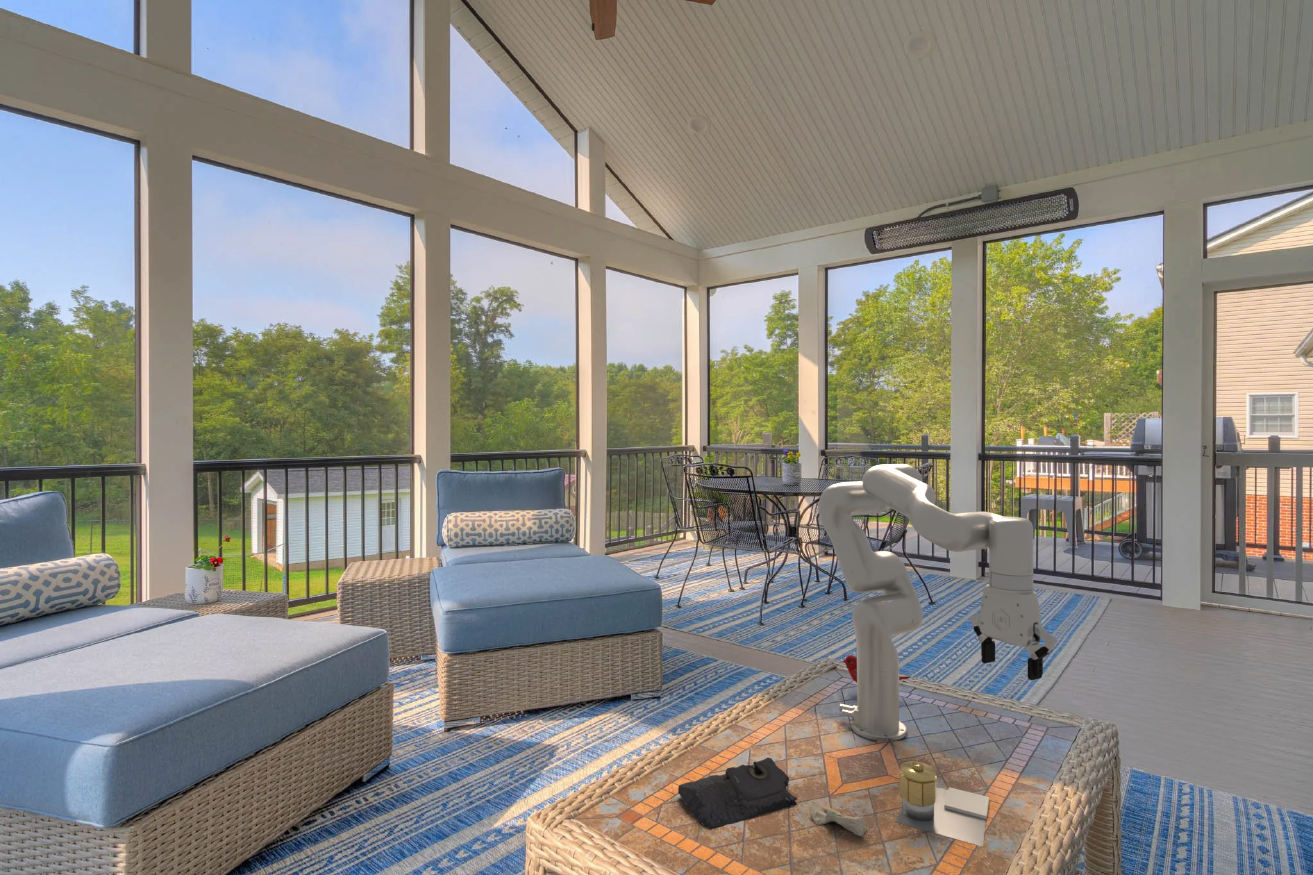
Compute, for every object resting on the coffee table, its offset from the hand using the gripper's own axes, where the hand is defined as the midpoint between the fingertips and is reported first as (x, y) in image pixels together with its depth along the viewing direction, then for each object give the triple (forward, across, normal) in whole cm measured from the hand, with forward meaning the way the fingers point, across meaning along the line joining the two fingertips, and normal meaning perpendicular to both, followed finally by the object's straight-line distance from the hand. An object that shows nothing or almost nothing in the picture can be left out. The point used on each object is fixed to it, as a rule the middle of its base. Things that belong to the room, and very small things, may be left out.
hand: (1010, 670), depth 125 cm
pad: (+24, -2, -10) cm, 26 cm away
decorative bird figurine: (+25, -49, +13) cm, 57 cm away
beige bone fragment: (+26, -7, -36) cm, 45 cm away
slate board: (+25, -2, -16) cm, 30 cm away
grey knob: (+24, -4, -21) cm, 32 cm away
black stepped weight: (+26, -24, -47) cm, 59 cm away
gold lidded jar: (+21, -4, -21) cm, 30 cm away
